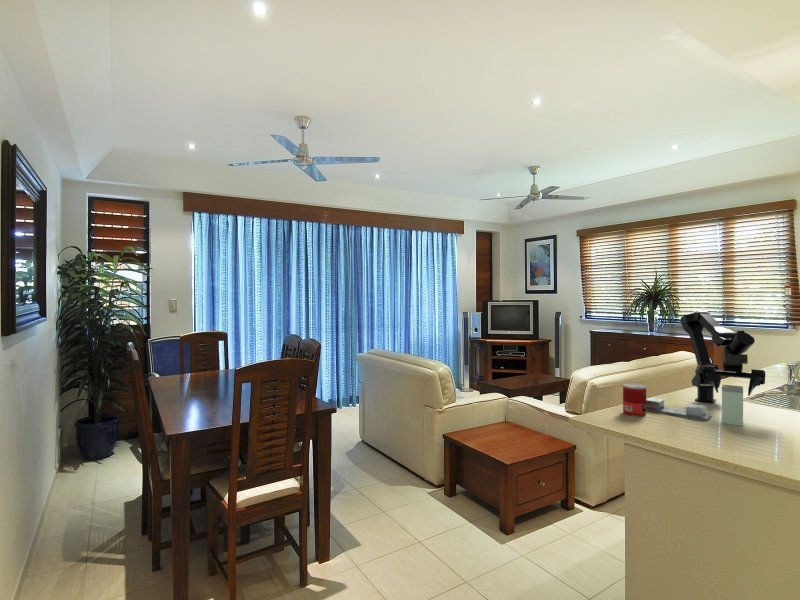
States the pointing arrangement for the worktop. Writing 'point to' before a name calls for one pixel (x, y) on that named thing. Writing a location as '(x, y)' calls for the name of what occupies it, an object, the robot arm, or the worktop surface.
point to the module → (732, 404)
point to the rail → (690, 412)
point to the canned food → (634, 399)
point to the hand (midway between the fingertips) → (732, 393)
